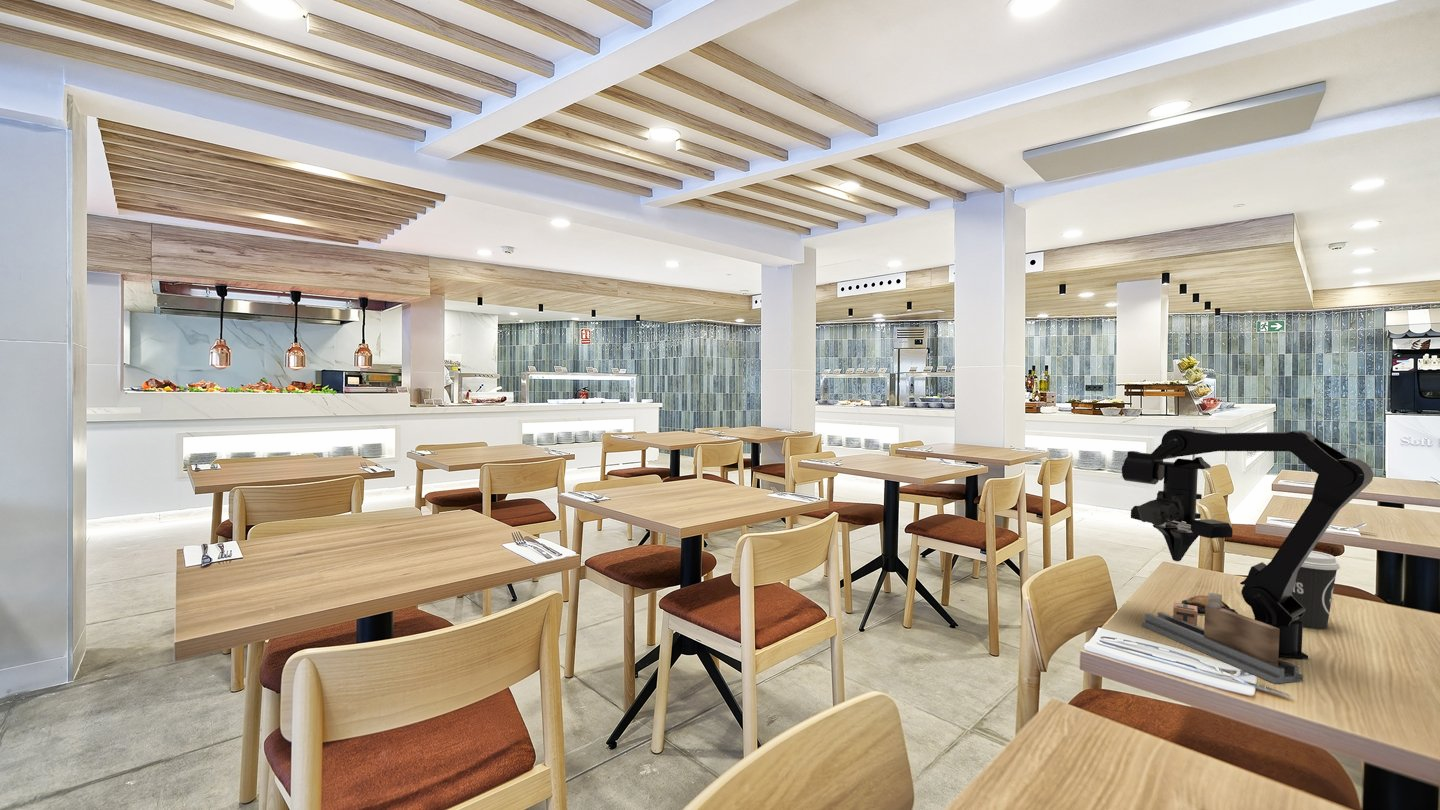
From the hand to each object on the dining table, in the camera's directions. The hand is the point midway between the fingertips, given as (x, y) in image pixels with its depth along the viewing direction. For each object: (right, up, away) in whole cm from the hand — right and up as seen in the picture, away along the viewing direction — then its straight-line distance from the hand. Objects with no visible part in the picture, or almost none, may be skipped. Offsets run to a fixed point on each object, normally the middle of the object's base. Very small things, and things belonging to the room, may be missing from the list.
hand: (1176, 560), depth 132 cm
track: (-3, -14, -13) cm, 19 cm away
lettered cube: (+1, -13, -1) cm, 14 cm away
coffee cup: (+29, -14, +1) cm, 32 cm away
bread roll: (+13, -14, +8) cm, 21 cm away
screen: (-2, -13, -18) cm, 22 cm away
